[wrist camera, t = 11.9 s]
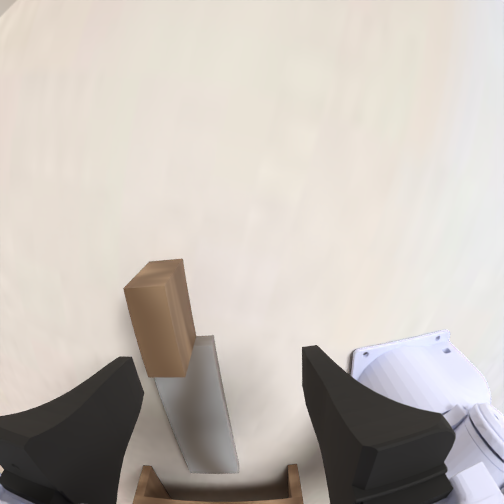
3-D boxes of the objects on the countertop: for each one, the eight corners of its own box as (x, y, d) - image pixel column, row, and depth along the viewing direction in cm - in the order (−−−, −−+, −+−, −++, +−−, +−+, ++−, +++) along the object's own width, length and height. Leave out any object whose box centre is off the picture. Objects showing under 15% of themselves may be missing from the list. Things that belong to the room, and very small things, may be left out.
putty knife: (201, 256, 20) (188, 283, 16) (239, 463, 26) (238, 500, 21) (132, 263, 20) (103, 289, 16) (192, 463, 26) (186, 499, 21)
